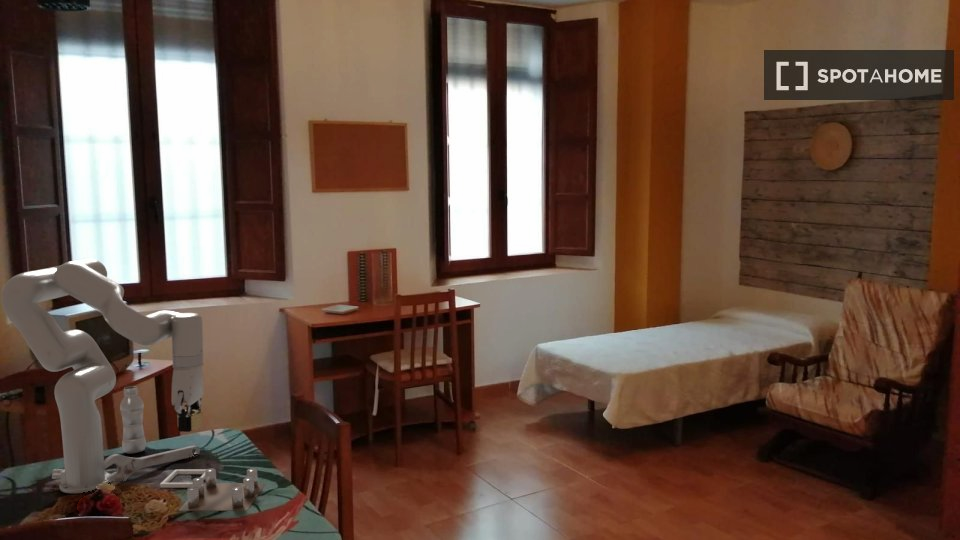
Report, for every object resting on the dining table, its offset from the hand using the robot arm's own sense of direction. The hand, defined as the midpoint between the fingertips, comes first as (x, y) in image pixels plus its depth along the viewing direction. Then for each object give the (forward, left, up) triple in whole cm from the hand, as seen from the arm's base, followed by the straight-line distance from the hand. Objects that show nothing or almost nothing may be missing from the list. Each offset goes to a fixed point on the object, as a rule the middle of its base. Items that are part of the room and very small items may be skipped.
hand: (189, 426), depth 200 cm
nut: (0, 0, 0) cm, 0 cm away
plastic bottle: (-28, +26, -17) cm, 42 cm away
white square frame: (-3, +3, -17) cm, 17 cm away
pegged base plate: (+11, -8, -16) cm, 21 cm away
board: (+11, -8, -17) cm, 22 cm away
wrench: (-16, +13, -17) cm, 27 cm away
